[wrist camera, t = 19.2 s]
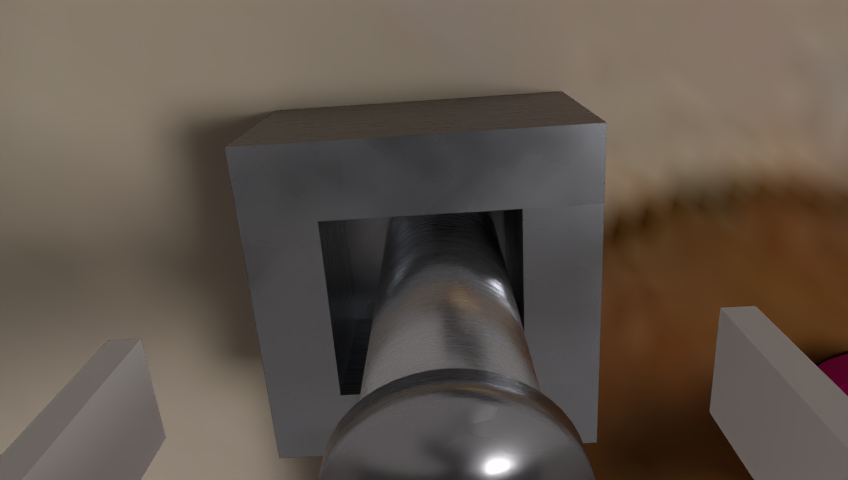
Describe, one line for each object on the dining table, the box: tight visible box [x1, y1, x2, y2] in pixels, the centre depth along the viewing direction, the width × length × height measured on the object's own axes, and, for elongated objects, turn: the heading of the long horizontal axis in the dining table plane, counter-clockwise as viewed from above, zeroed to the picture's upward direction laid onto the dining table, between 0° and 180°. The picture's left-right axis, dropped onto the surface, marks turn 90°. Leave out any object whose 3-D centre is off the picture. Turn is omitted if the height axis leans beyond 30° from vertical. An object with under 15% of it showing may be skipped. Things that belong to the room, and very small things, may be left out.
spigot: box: [318, 211, 596, 480], centre depth 17 cm, size 5×5×13 cm
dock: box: [225, 92, 607, 458], centre depth 23 cm, size 22×10×7 cm, turn 4°
